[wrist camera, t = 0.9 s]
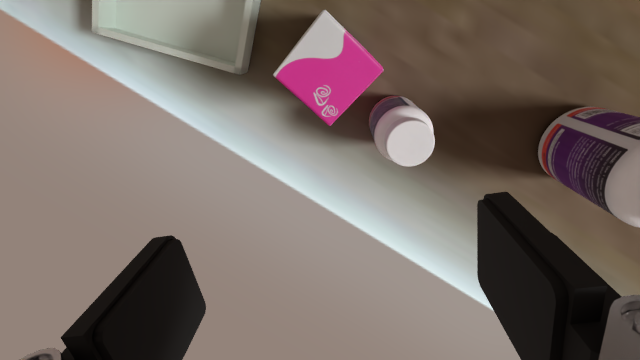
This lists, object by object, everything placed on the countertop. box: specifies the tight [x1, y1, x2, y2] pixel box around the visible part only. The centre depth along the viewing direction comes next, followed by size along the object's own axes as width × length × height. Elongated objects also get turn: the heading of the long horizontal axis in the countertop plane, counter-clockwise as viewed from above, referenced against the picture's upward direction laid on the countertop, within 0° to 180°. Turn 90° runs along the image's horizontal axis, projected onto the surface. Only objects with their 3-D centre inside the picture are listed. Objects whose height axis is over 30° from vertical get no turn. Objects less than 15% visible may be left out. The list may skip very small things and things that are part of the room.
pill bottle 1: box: [369, 96, 435, 167], centre depth 32 cm, size 5×5×9 cm
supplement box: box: [273, 10, 383, 126], centre depth 29 cm, size 6×6×12 cm
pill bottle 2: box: [538, 107, 640, 227], centre depth 29 cm, size 8×8×14 cm
